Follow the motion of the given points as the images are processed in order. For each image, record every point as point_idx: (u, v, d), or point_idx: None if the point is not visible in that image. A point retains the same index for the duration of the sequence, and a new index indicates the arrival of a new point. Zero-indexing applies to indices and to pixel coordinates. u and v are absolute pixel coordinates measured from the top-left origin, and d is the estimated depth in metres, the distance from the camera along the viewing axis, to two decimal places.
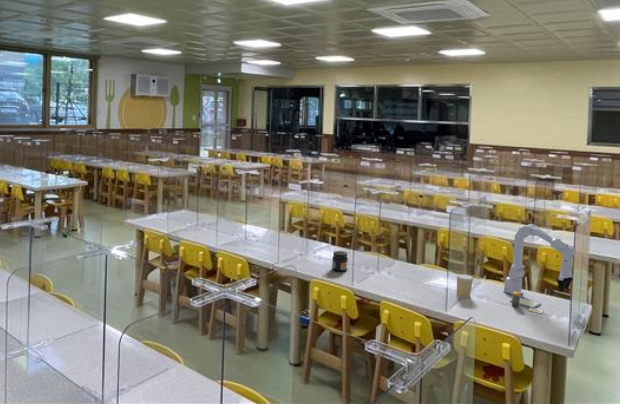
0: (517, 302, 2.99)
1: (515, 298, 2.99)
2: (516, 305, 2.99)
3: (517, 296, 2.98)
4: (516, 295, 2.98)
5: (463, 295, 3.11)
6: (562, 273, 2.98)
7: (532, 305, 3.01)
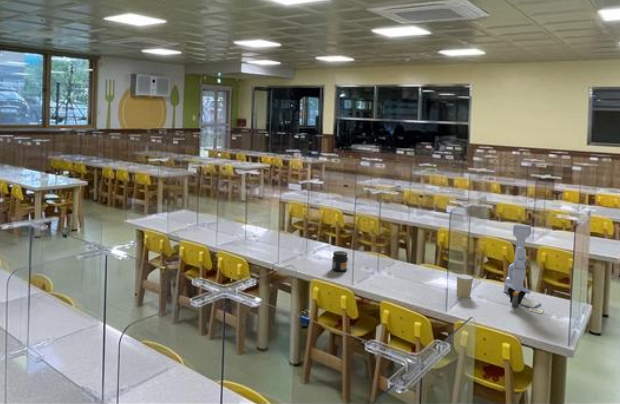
0: (517, 302, 2.99)
1: (515, 298, 2.99)
2: (516, 305, 2.99)
3: (517, 296, 2.98)
4: (516, 295, 2.98)
5: (463, 295, 3.11)
6: None
7: (532, 305, 3.01)
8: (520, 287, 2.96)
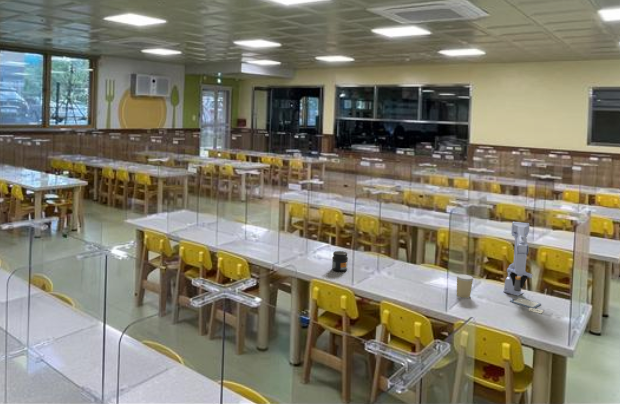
0: (519, 286, 3.05)
1: (517, 282, 3.05)
2: (518, 289, 3.05)
3: (519, 280, 3.04)
4: (518, 279, 3.04)
5: (463, 295, 3.11)
6: None
7: (532, 305, 3.01)
8: (522, 271, 3.03)
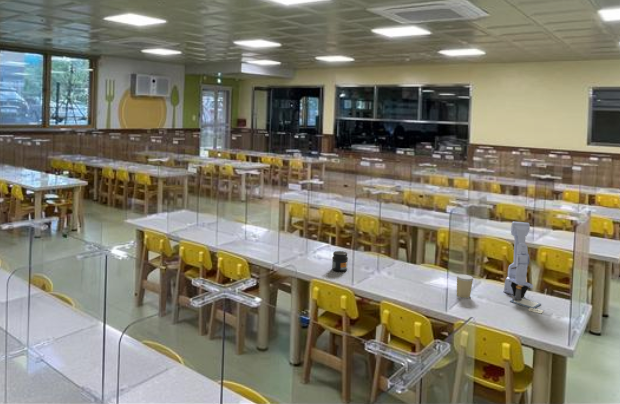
0: (520, 295, 3.06)
1: (518, 291, 3.05)
2: (519, 298, 3.06)
3: (520, 289, 3.05)
4: (519, 289, 3.05)
5: (463, 295, 3.11)
6: None
7: (532, 305, 3.01)
8: (523, 282, 3.03)
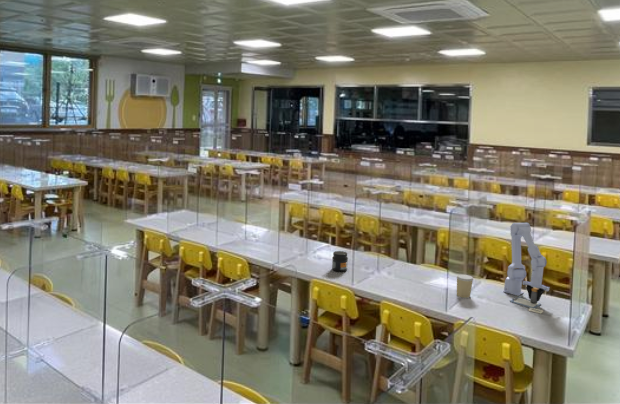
0: (536, 298, 3.02)
1: (534, 294, 3.02)
2: (535, 301, 3.02)
3: (536, 292, 3.01)
4: (535, 291, 3.01)
5: (463, 295, 3.11)
6: None
7: (532, 305, 3.01)
8: (539, 284, 3.00)
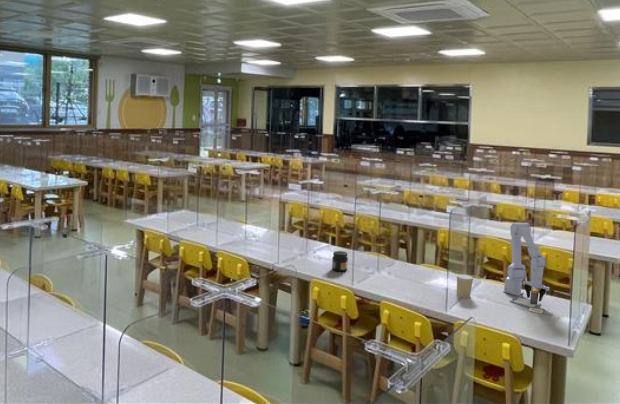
0: (536, 299, 3.02)
1: (534, 295, 3.02)
2: (535, 302, 3.02)
3: (536, 293, 3.01)
4: (535, 292, 3.01)
5: (463, 295, 3.11)
6: None
7: (532, 305, 3.01)
8: (539, 284, 3.00)
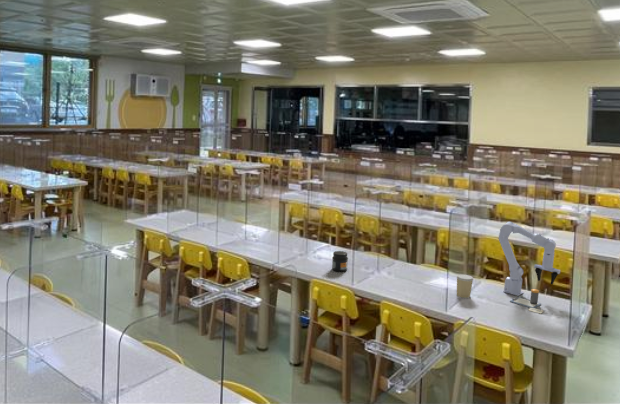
0: (536, 299, 3.02)
1: (534, 295, 3.02)
2: (535, 302, 3.02)
3: (536, 293, 3.01)
4: (535, 292, 3.01)
5: (463, 295, 3.11)
6: None
7: (532, 305, 3.01)
8: (550, 267, 3.08)
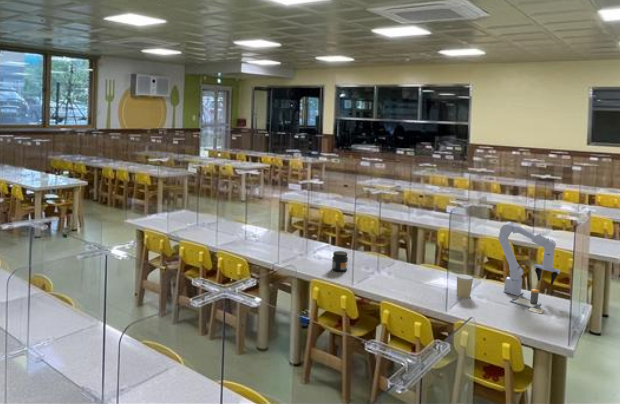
0: (536, 299, 3.02)
1: (534, 295, 3.02)
2: (535, 302, 3.02)
3: (536, 293, 3.01)
4: (535, 292, 3.01)
5: (463, 295, 3.11)
6: None
7: (532, 305, 3.01)
8: (550, 267, 3.08)
